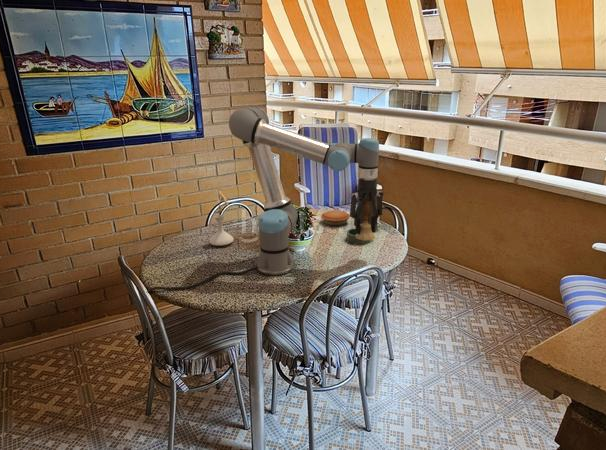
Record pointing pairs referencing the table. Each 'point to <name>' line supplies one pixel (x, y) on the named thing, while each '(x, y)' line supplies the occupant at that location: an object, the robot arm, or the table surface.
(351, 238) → the holder
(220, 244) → the flower in vase
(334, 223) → the pie
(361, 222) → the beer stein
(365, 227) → the hand bell
